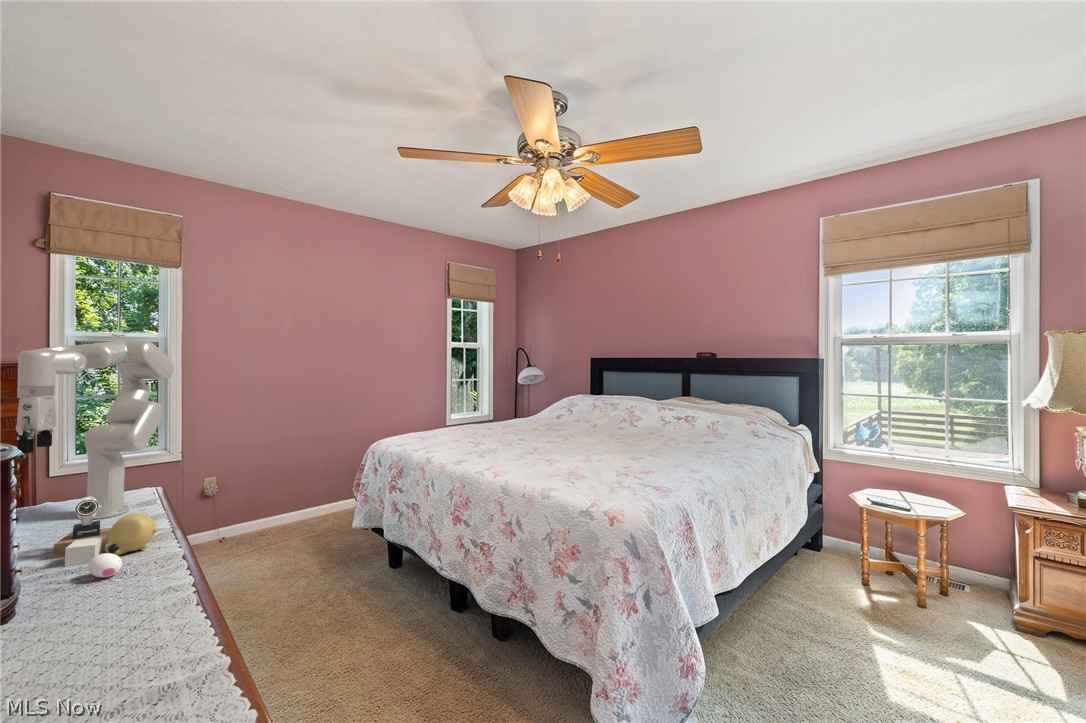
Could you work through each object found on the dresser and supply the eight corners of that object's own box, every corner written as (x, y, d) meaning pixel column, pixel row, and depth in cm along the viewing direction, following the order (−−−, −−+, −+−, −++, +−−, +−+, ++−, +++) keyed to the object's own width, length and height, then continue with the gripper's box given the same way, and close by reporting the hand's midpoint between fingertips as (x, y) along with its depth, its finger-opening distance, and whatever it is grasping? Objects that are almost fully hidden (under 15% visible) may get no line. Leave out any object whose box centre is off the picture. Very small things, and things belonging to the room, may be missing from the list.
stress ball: (122, 588, 118) (140, 561, 122) (92, 582, 112) (111, 553, 116) (103, 581, 121) (121, 555, 124) (72, 575, 114) (92, 548, 118)
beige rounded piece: (128, 558, 136) (91, 540, 131) (163, 521, 142) (130, 503, 137) (130, 568, 129) (92, 550, 124) (167, 529, 135) (132, 510, 130)
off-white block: (75, 558, 128) (75, 540, 128) (103, 554, 130) (104, 537, 130) (64, 567, 122) (65, 548, 122) (94, 563, 125) (95, 544, 125)
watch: (72, 541, 128) (73, 502, 128) (74, 533, 134) (75, 496, 134) (99, 537, 132) (101, 499, 132) (100, 529, 138) (101, 492, 138)
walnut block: (72, 545, 136) (72, 531, 136) (115, 540, 140) (116, 527, 140) (53, 558, 127) (53, 544, 127) (100, 553, 131) (101, 539, 131)
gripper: (37, 394, 129) (36, 454, 129) (68, 390, 145) (67, 443, 145) (0, 394, 126) (-2, 456, 126) (35, 390, 142) (34, 445, 142)
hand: (35, 449), depth 136 cm, fingers open, 9 cm apart
